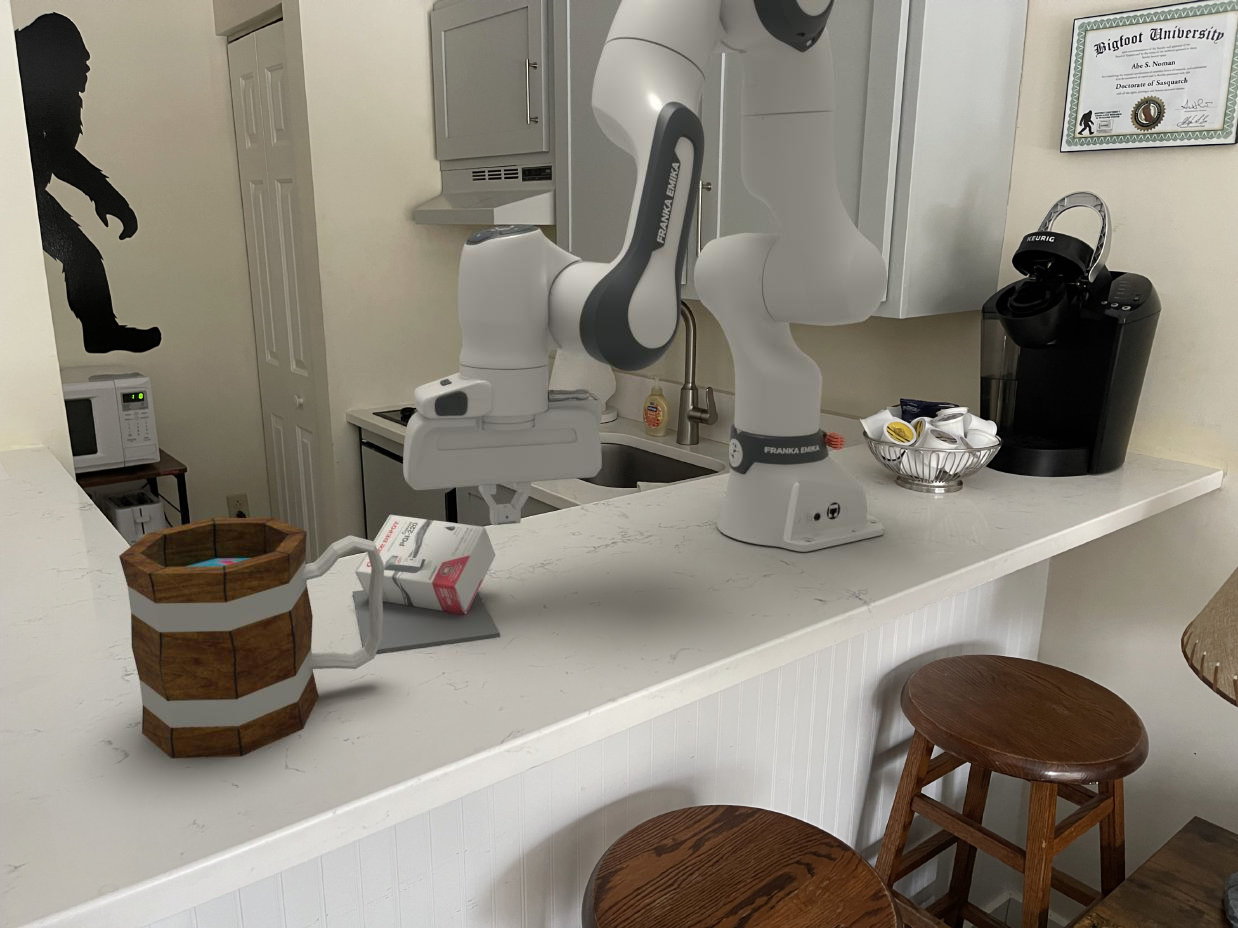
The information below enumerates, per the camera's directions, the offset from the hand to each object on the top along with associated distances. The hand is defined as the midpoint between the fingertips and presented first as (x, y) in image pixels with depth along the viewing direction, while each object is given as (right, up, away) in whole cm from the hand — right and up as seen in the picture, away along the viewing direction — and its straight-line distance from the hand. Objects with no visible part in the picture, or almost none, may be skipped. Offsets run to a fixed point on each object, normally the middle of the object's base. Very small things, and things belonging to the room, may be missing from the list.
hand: (505, 522), depth 94 cm
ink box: (-3, -5, 0) cm, 6 cm away
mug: (-17, -14, -18) cm, 29 cm away
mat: (-9, -10, 0) cm, 13 cm away
